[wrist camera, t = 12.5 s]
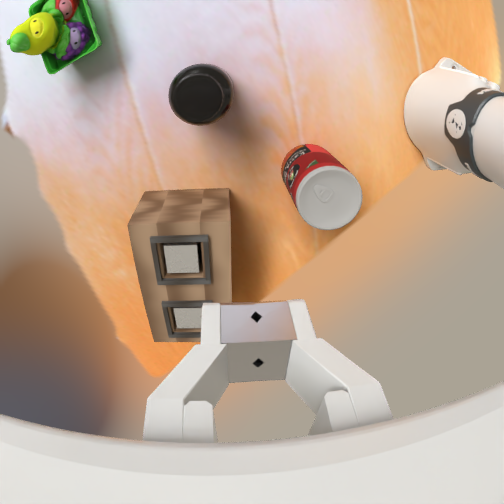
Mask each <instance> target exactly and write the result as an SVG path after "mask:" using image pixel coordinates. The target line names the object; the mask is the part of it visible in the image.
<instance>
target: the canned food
mask: <svg viewBox="0 0 504 504" xmlns="http://www.w3.org/2000/svg"><path fill="white" fill-rule="evenodd" d="M281 173H282V178H283V181H284V183H285V185H286V187H287V189H288V191H289V193H290V195H291V197H292V199H293V201H294V204H295V206H296V208H297V210H298V212H299V214H300V215H301V216H302V218H303V219H304V220H305V221H306V222H307V223H308V224H309V225H311V226H313V227H315V228H318V229H321V230H334V229H338V228H340V227H343V226H345V225H346V224H348V223H349V222H350V221H352V220H353V219H354V218H355V216H356V215H357V214H358V212H359V210H360V207H361V204H362V190H361V187H360V184H359V183H358V181H357V179H356V178H355V177H354V176H353V175H352V173H350V171H349V170H348V169H347V168H345V167H344V166H343V165H342V164H341V163H340V162H339V161H338V160H337V159H336V158H334V157H333V156H332V155H331V154H330V153H329V152H328V151H327V150H325V149H324V148H322V147H320V146H317V145H313V144H305V145H300V146H297V147H295V148H294V149H292V150H291V151H290V152H289V153H288V154H287V155H286V157H285V158H284V161H283V163H282V168H281Z"/></svg>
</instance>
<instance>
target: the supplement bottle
mask: <svg viewBox="0 0 504 504" xmlns="http://www.w3.org/2000/svg"><path fill="white" fill-rule="evenodd" d="M233 98H234V89H233V84H232V81H231V78H230V77H229V75H228V74H227V73H226V72H225V71H224V70H223V69H222V68H220V67H218V66H215V65H211V64H195V65H192V66H189V67H187V68H185V69H183V70H182V71H181V72H179V73H178V74H177V75H176V77H175V78H174V79H173V81H172V83H171V85H170V88H169V103H170V106H171V109H172V110H173V112H174V113H175V115H176V116H177V117H178V118H180V119H181V120H182V121H184V122H186V123H188V124H192V125H198V126H202V125H209V124H212V123H214V122H216V121H218V120H220V119H221V118H222V117H223V116H224V115H225V114H226V113H227V112H228V111H229V109H230V107H231V105H232V102H233Z"/></svg>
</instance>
